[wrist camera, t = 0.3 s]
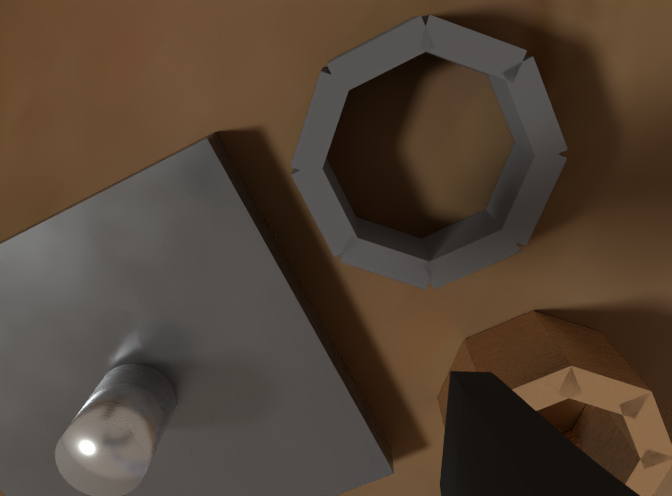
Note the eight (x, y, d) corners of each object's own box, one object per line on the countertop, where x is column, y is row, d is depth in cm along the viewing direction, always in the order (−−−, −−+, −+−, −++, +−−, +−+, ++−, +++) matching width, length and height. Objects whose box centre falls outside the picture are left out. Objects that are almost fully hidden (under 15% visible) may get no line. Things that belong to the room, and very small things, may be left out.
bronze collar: (638, 428, 20) (693, 501, 17) (482, 487, 21) (506, 567, 18) (584, 289, 19) (632, 341, 16) (417, 359, 20) (430, 421, 17)
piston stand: (391, 449, 21) (401, 546, 17) (97, 565, 23) (45, 677, 19) (215, 131, 17) (177, 160, 14) (-113, 299, 19) (-231, 367, 15)
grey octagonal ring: (567, 200, 18) (594, 219, 16) (364, 290, 19) (366, 318, 17) (483, -20, 16) (502, -27, 14) (263, 94, 17) (252, 101, 15)
